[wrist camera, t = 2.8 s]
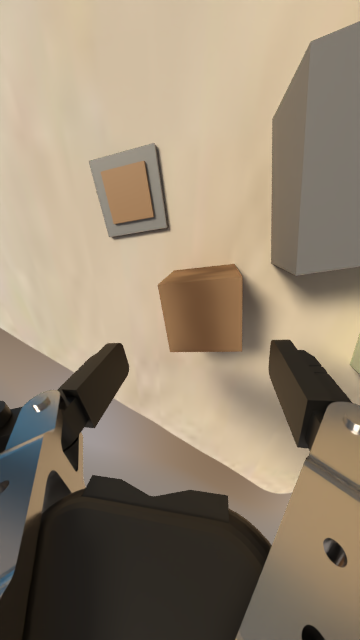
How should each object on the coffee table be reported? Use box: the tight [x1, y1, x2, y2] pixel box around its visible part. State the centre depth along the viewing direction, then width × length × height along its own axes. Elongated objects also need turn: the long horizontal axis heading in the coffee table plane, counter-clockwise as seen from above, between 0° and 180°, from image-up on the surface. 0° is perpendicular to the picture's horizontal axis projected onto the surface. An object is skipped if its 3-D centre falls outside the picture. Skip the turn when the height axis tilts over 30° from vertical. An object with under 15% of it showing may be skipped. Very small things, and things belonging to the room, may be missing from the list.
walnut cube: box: [158, 264, 242, 352], centre depth 17 cm, size 6×6×6 cm
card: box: [89, 143, 168, 237], centre depth 16 cm, size 6×6×1 cm
